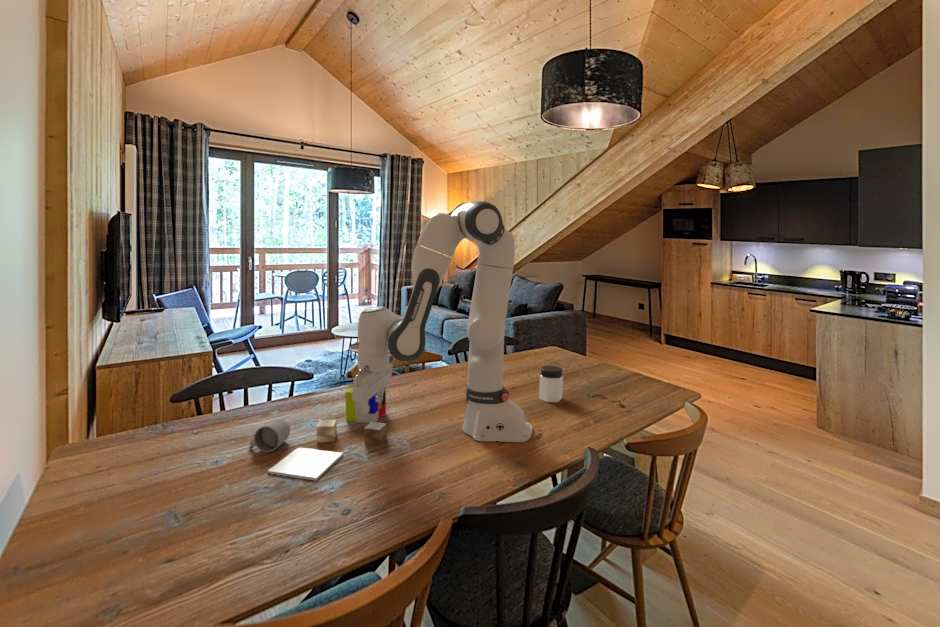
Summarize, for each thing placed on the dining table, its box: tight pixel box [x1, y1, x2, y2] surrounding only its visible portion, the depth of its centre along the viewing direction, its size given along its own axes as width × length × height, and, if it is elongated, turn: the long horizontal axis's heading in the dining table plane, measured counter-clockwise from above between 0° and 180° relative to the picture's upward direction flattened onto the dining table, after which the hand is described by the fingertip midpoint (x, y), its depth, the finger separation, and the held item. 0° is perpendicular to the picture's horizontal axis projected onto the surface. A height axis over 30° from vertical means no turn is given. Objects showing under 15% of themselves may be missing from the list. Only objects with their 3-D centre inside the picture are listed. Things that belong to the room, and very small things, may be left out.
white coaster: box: [267, 446, 344, 482], centre depth 128 cm, size 14×14×1 cm
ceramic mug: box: [249, 418, 291, 453], centre depth 138 cm, size 11×8×8 cm
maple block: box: [316, 419, 338, 443], centre depth 144 cm, size 5×5×5 cm
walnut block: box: [363, 421, 388, 446], centre depth 142 cm, size 5×5×5 cm
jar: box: [538, 365, 564, 403], centre depth 180 cm, size 9×8×12 cm
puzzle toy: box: [344, 386, 387, 424], centre depth 161 cm, size 10×10×10 cm
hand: (372, 406), depth 141 cm, fingers open, 8 cm apart
